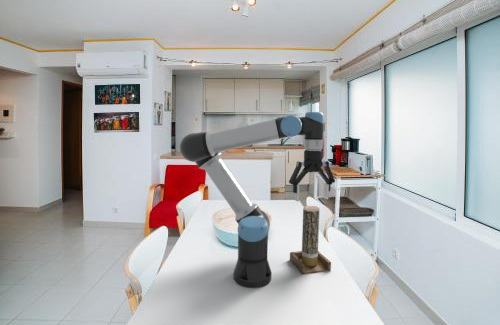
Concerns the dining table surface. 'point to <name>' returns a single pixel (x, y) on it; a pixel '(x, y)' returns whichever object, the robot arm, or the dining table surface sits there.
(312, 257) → the paper tube
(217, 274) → the dining table surface
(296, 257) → the wooden tray
